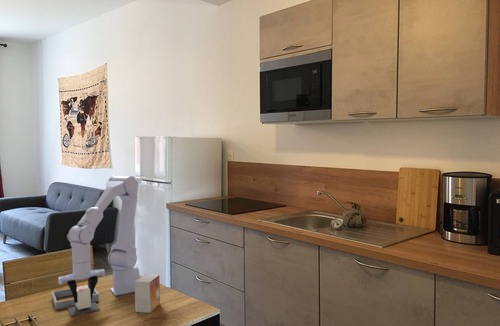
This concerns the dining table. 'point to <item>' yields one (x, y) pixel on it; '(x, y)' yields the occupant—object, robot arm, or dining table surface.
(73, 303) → the grey rectangular frame
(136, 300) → the small box
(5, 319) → the dining table surface
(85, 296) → the block
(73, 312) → the mat
